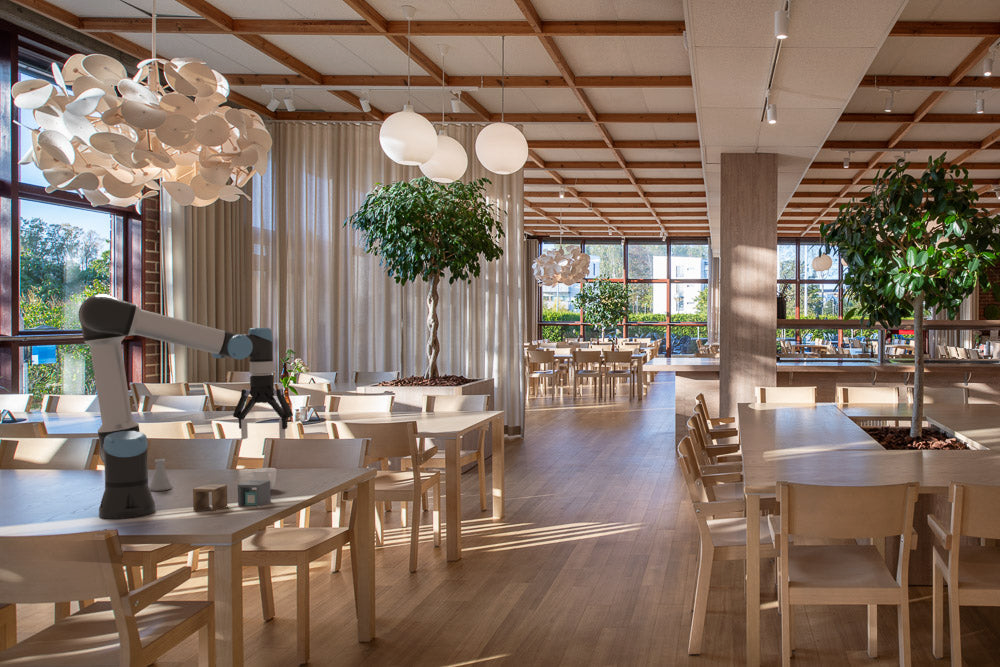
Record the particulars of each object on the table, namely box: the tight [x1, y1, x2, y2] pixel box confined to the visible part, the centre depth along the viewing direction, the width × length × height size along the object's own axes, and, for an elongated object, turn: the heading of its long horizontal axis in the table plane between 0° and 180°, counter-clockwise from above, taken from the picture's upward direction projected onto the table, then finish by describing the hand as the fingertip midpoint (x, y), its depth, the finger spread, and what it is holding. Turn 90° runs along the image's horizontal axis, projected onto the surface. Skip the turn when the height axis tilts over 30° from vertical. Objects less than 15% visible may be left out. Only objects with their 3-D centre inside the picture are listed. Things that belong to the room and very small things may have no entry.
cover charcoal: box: [237, 479, 271, 507], centre depth 266 cm, size 7×7×6 cm
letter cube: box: [244, 489, 257, 506], centre depth 266 cm, size 4×4×4 cm
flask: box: [149, 458, 173, 492], centre depth 292 cm, size 7×7×10 cm
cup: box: [251, 467, 277, 491], centre depth 287 cm, size 8×10×7 cm
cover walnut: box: [192, 483, 228, 512], centre depth 260 cm, size 7×7×6 cm
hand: (263, 439), depth 287 cm, fingers open, 13 cm apart
